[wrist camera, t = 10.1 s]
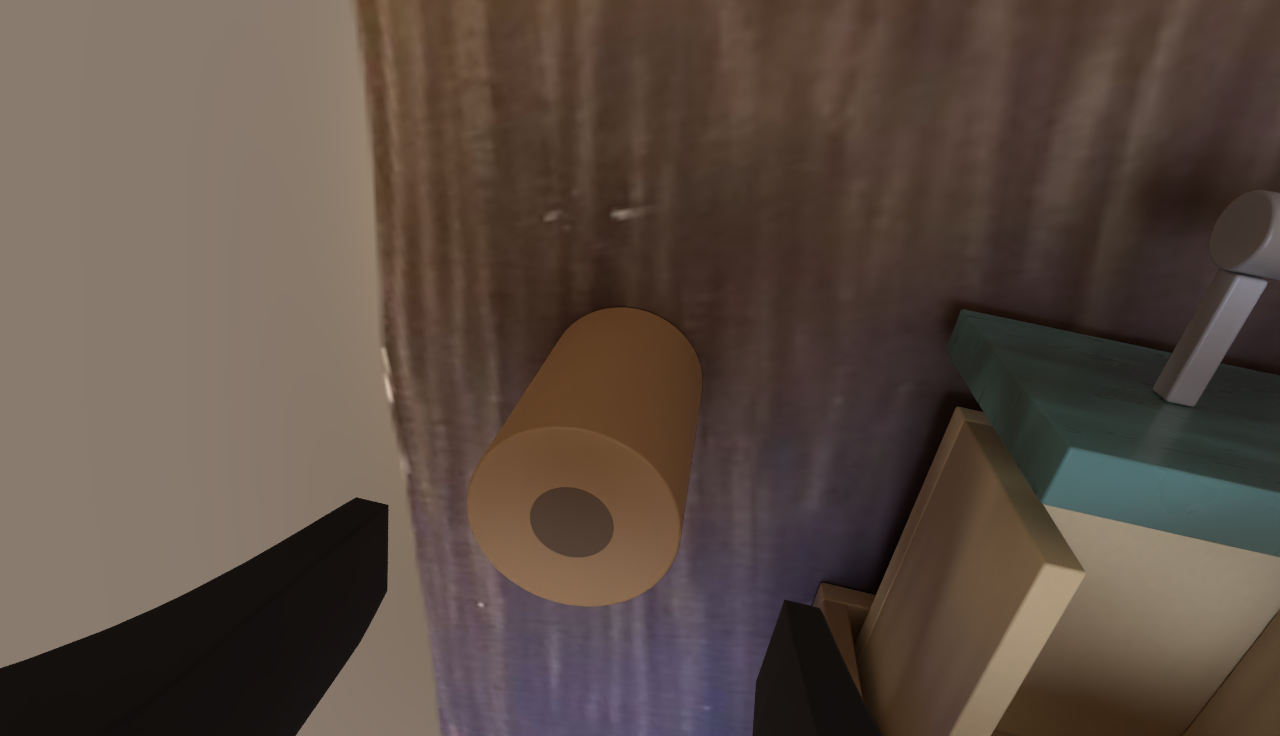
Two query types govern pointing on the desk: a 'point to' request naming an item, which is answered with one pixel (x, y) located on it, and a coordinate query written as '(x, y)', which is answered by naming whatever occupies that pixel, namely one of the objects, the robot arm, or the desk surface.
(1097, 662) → the drawer
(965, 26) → the desk surface
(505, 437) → the paper roll
